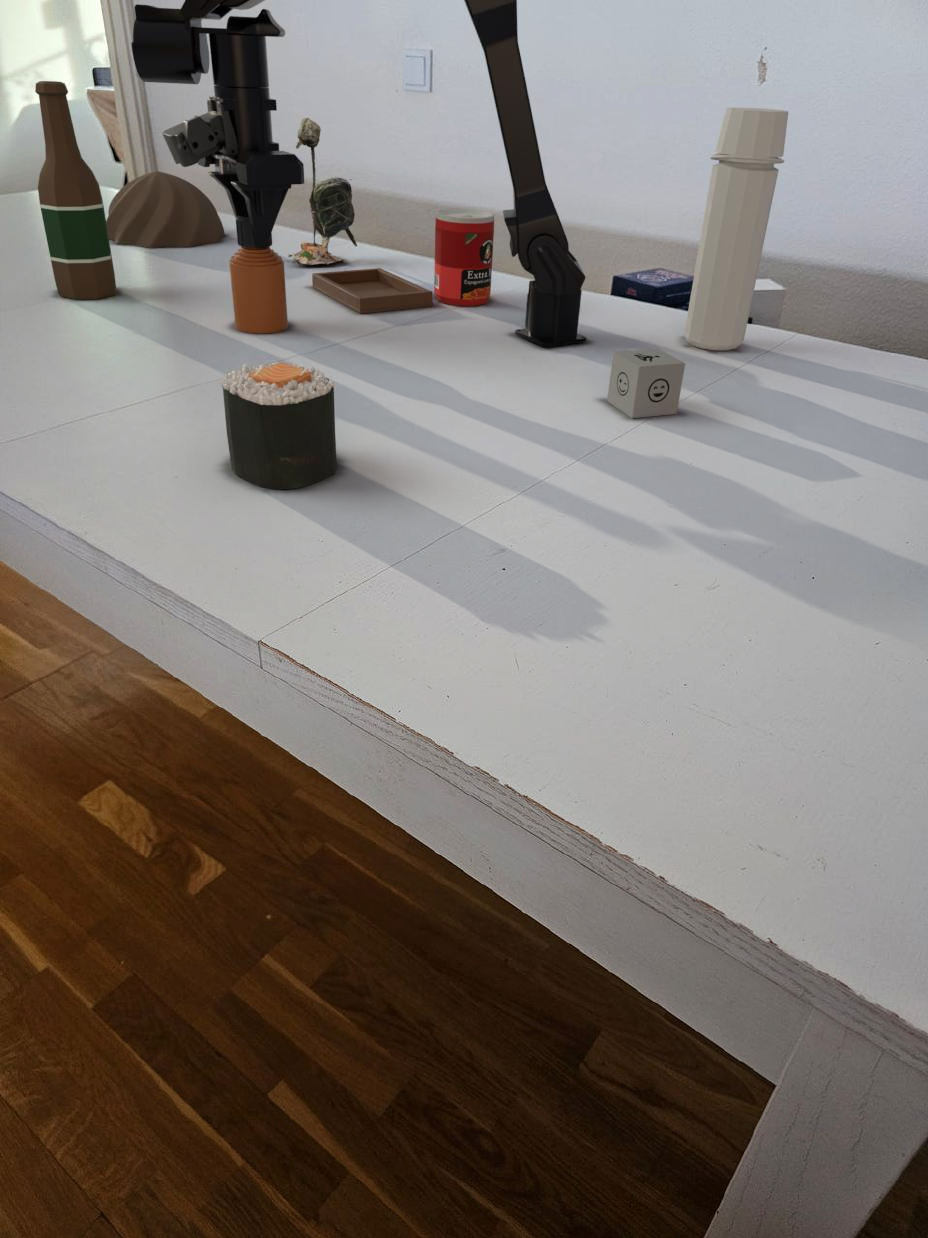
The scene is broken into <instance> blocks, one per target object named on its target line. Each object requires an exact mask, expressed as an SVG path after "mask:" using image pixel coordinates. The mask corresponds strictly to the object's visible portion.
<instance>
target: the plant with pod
mask: <svg viewBox="0 0 928 1238" xmlns="http://www.w3.org/2000/svg"><path fill="white" fill-rule="evenodd" d="M321 129H322V128H321V126H320V125H319V124H318V123H317V122H315V121H314V120H312V119H310V118H309V117H304V118H302V119H301V123H300V126H299V129H298V130H297V139H298V142H297V143H296V146H295V148H296V150H298V149H299V148H300V147H301V146H302V145H303V146H306V147H308V148H310V151H311V152H310V155H311V162H312V164H311V166H312V167H311V168H312V189H311V190H310V193H309V199H308V201H309V204H310V205H309V207H310V212H311V218H312V227H313V242H307V241H302V242H301V243H300V249H301V250H300V251H298V252H296V253H294V254H288V258H292V260H293V261H294V262H295V264H298V265H308V266H309V265H310V266H314V265H320V264H323V265H325V264H326V265H330V264H335V263H338V262H345V261H346V259H342V258H338V257H337V256H335V255H333V254H332V253H331V252H329V243H330V239H331V238H333V237H335V236H336V235H337V234H339V233H340V232H342V231H345V233H346V235H347V236H348V238H349V240H350V241H351V243H352V244H353V245H354V247H358V244H357V241H356V239H355V237H354V235H353V233H352V231H351V230H350V227H351V226H352V225H353V224H354V222H355V216H356V213H355V208H354V205H353V190H352V186H351V184H350V182H349V181H352V180H353V179H352V178H351V179H349V181H348V179H346V178H342V177H339V176H334V177H331V178H327V179H325V180H321V181H320V182H319V183H316V177H317V175H316V162H315V161H316V151H315V149H316V147H317V146H319V143H320V138H321V137H320V136H321V131H322V130H321ZM316 232H317V233H319V235H320V237H321V238H322V239H321V244H319V243H316Z"/></svg>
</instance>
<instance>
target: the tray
mask: <svg viewBox="0 0 928 1238" xmlns="http://www.w3.org/2000/svg"><path fill="white" fill-rule="evenodd" d="M311 278H312V280H311V281H312V288H313V289H315V290H317V291H318V292H320V293H322V294H324V295H326V296H327V297H329V298H331V299H332V300H335V301H336V302H338V303H340V304H342V305H344V306H345V307H346V308H349V309H351V310H353V311H355V312H356V313H358V314H360V315H362V314H371V313H372V314H373V313H381V312H382V313H383V312H390V311H391V312H392V311H400V310H410V309H420V308H430V307H433V291H432V290H430V289H427V288H425V287H423V286H421V285H418V284H416V283H414V282H412V281H410V280H408V279H405V278H403V277H400V276H399V275H396V274H394V273H392V272H390V271H388V270H386V269H383V268H381V267H376V268H364V269H351V270H340V271H339V270H338V271H325V272H313V273H311Z"/></svg>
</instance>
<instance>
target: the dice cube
mask: <svg viewBox="0 0 928 1238" xmlns="http://www.w3.org/2000/svg"><path fill="white" fill-rule="evenodd" d="M685 369H686V362H684V361H683V360H681V359H679V358H678V357H675V356H673V355H672V354H669V353H668V352H666V351H664V350H662V349H660V348H658V347H657V348H655V347H654V348H642V349H629V350H628V349H627V350H615V351H613V353H612V360H611V368H610V376H609V383H608V392H607V400H606V402H607V403H608V404H610V405H612V406H613V407H615V408H616V409H618V411H621V412H622V413H623V414H625V415H626V416H627V417H629V418H631V419H639V418H648V417H649V418H650V417H658V416H668V415H677V413H678V409H679V402H680V397H681V390H682V385H683V379H684V373H685Z"/></svg>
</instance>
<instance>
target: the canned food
mask: <svg viewBox="0 0 928 1238" xmlns="http://www.w3.org/2000/svg"><path fill="white" fill-rule="evenodd" d="M494 237H495V214H494V213H492V212H490V211H486V210H482V209H476V208H475V209H474V208H443V209H439V210H437V211H436V212H435V226H434V281H433V283H434V284H433V285H434V286H433V290H434V291H433V292H434V297H435V299H436V300H437V301H438V302H440V303H442V304H446V305H452V306H458V307H475V306H481V305H485V304H486V303H488V302H489V300H490V297H491V290H492V271H493V258H494V257H493V256H494V255H493V254H494Z"/></svg>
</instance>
